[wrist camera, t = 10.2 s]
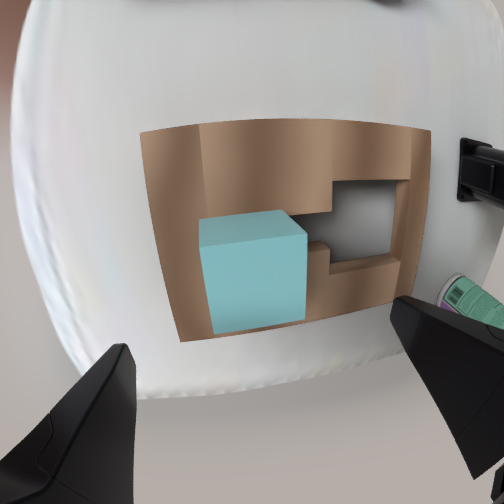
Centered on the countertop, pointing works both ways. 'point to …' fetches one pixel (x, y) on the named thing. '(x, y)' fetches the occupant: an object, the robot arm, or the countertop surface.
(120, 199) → the countertop surface
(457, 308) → the spray can
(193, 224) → the keyhole plate
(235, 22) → the countertop surface
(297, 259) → the teal peg
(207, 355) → the countertop surface
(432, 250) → the countertop surface
